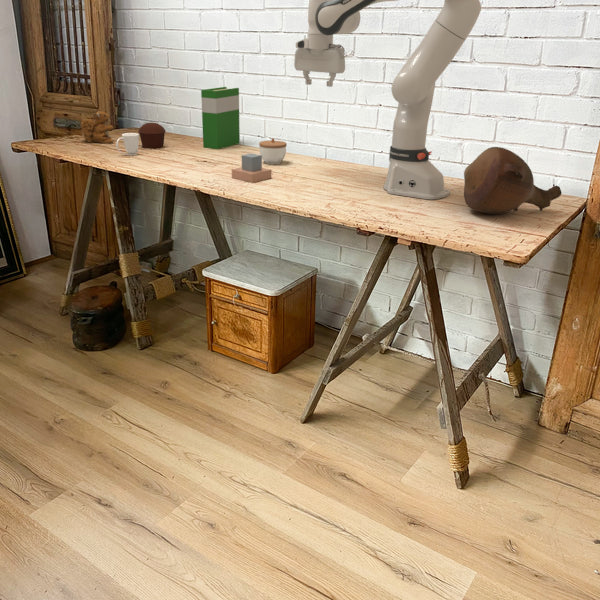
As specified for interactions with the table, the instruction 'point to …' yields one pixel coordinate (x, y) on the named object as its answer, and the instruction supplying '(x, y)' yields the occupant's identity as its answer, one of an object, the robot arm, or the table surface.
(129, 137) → the cup
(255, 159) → the cube
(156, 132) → the muffin
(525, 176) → the brown bulbous piece
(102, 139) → the stuffed squirrel
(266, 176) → the pedestal
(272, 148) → the lidded jar
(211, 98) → the hardback book
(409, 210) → the table surface
